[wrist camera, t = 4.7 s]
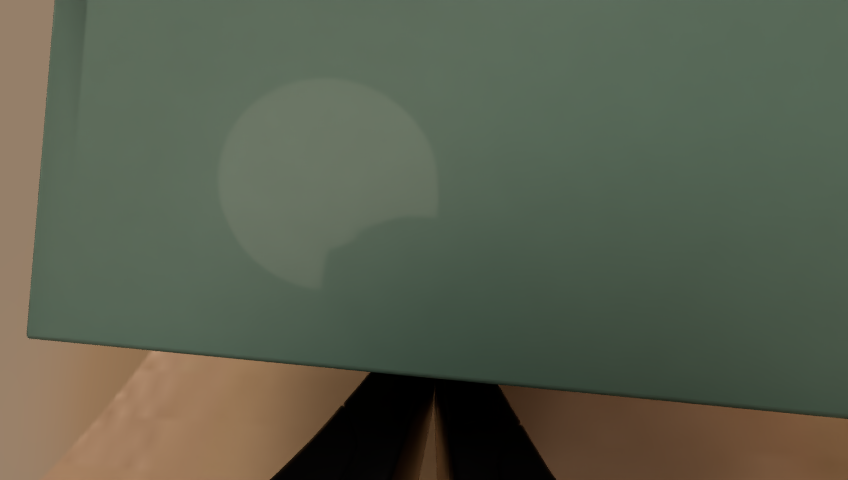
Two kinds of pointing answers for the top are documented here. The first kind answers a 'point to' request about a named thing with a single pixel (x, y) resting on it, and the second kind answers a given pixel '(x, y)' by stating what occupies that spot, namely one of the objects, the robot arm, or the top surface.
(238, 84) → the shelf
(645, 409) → the top surface
